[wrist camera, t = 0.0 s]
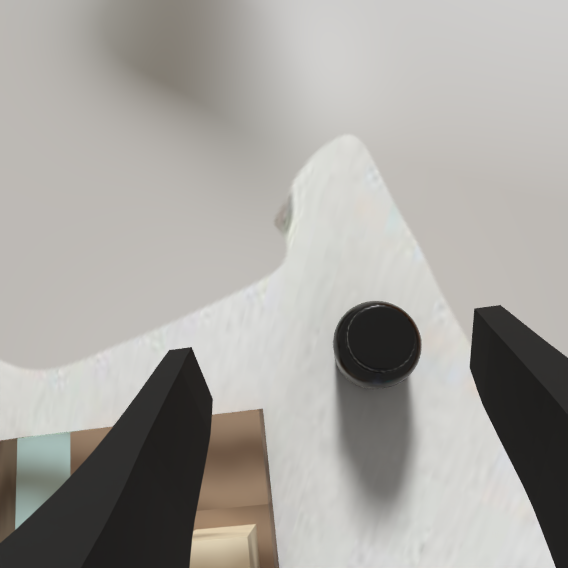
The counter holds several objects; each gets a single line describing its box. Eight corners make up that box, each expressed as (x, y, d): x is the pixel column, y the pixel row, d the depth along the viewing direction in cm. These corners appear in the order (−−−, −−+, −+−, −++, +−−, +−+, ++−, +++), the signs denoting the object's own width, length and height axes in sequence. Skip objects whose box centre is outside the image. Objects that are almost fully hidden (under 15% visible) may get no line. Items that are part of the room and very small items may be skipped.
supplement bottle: (392, 400, 42) (410, 405, 30) (324, 372, 43) (316, 365, 32) (417, 332, 43) (444, 311, 31) (350, 306, 44) (351, 277, 33)
